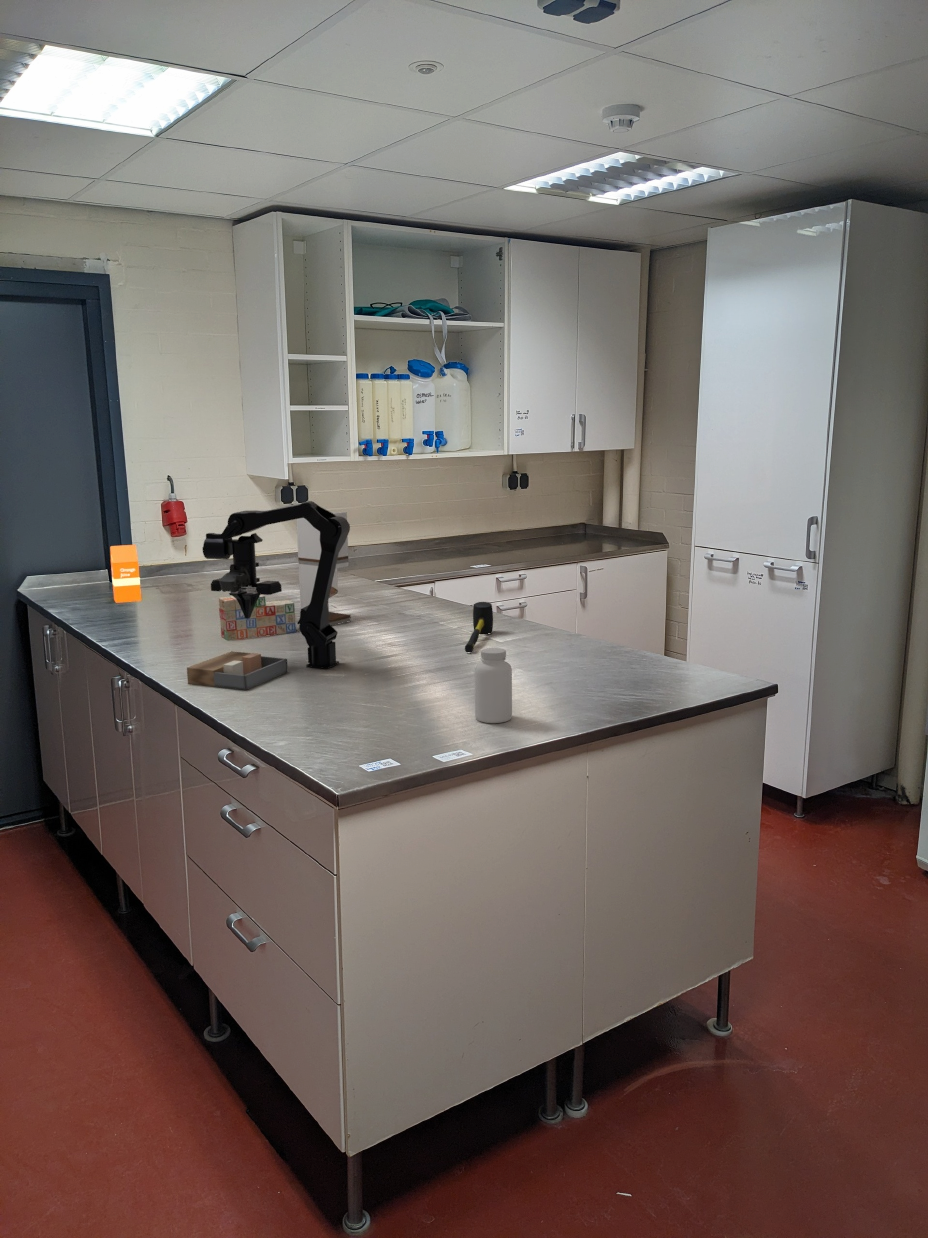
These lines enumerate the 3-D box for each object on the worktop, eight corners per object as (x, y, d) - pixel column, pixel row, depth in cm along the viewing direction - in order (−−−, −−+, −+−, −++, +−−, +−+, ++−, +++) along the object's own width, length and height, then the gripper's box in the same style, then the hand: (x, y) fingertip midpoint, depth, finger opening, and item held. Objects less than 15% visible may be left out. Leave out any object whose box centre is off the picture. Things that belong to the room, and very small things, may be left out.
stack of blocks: (289, 629, 293) (287, 590, 290) (296, 632, 287) (294, 593, 285) (220, 637, 282) (218, 596, 280) (226, 641, 277) (224, 600, 274)
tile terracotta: (253, 670, 242) (261, 671, 241) (242, 674, 238) (251, 675, 237) (252, 653, 241) (260, 653, 240) (241, 657, 237) (250, 657, 236)
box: (287, 672, 241) (286, 658, 241) (245, 690, 225) (244, 676, 224) (258, 668, 245) (257, 655, 244) (214, 686, 228) (213, 672, 228)
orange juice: (113, 599, 345) (109, 545, 341) (139, 597, 349) (134, 543, 345) (115, 602, 338) (111, 547, 334) (141, 600, 342) (137, 545, 338)
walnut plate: (258, 668, 245) (257, 653, 244) (214, 686, 228) (213, 670, 228) (232, 666, 248) (231, 651, 247) (187, 683, 232) (186, 667, 231)
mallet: (479, 655, 258) (479, 620, 256) (458, 654, 259) (457, 620, 257) (494, 632, 286) (494, 600, 284) (475, 631, 287) (474, 600, 285)
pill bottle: (510, 712, 206) (510, 645, 203) (513, 724, 198) (513, 654, 195) (474, 713, 206) (473, 646, 202) (475, 724, 198) (475, 655, 195)
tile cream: (235, 678, 234) (243, 679, 233) (224, 682, 230) (233, 683, 229) (234, 660, 233) (242, 661, 232) (223, 664, 229) (231, 665, 228)
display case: (325, 627, 294) (320, 514, 287) (301, 623, 300) (296, 513, 293) (350, 621, 303) (346, 511, 296) (327, 617, 309) (322, 510, 302)
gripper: (195, 562, 242) (199, 621, 245) (256, 565, 235) (259, 627, 238) (222, 556, 252) (225, 613, 255) (281, 559, 245) (284, 618, 248)
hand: (247, 618), depth 249 cm, fingers closed
